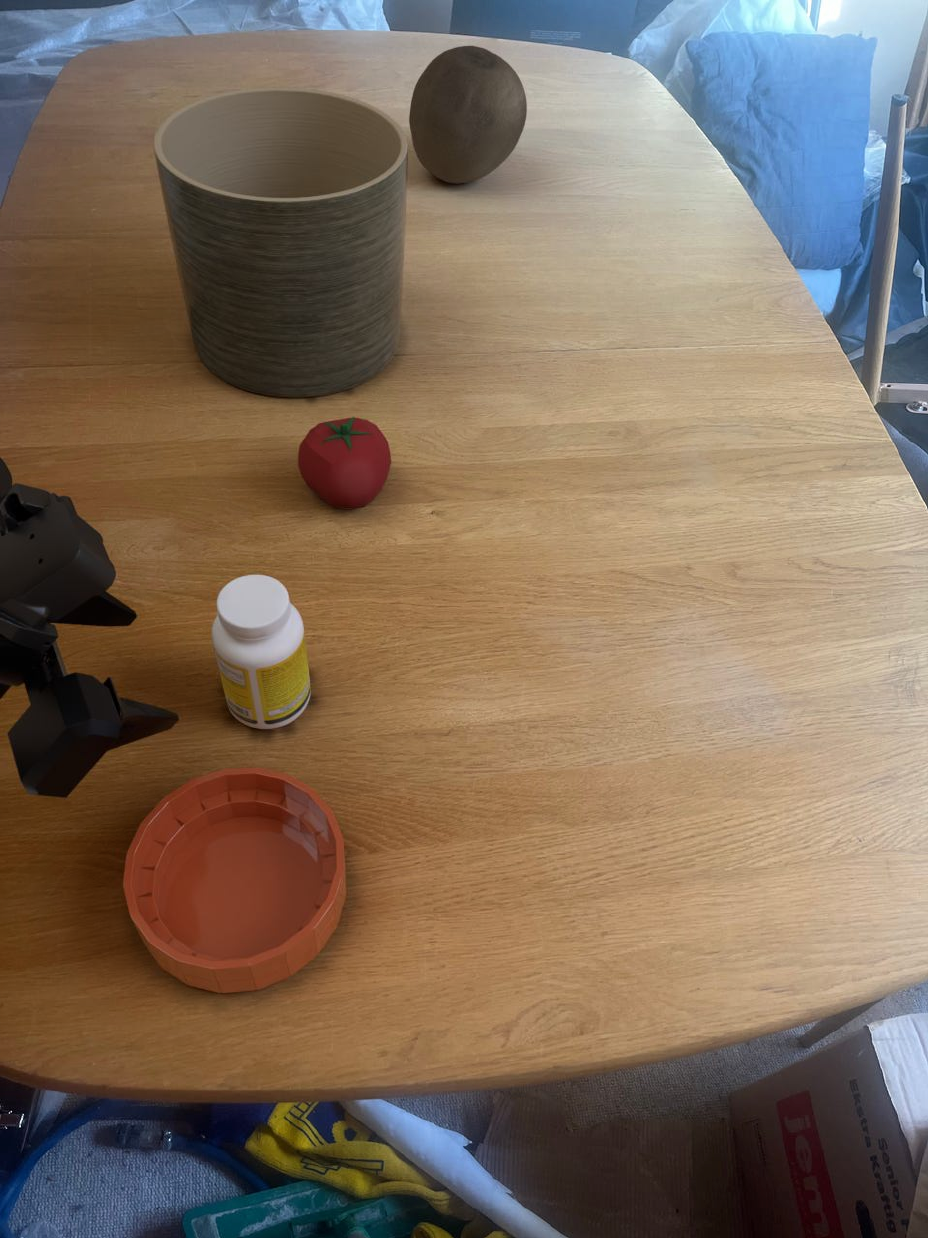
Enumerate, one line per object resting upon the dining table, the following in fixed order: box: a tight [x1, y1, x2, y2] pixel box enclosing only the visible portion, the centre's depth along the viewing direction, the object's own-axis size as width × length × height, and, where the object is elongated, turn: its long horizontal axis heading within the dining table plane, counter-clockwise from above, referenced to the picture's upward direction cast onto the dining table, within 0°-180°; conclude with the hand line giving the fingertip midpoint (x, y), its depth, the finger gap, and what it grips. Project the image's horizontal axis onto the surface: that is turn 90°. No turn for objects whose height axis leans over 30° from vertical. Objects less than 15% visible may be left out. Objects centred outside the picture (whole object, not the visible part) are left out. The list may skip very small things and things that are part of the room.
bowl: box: [122, 766, 347, 994], centre depth 60 cm, size 13×13×4 cm
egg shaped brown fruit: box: [408, 45, 528, 184], centre depth 119 cm, size 14×14×15 cm
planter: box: [152, 86, 409, 398], centre depth 93 cm, size 22×22×20 cm
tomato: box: [297, 416, 392, 510], centre depth 83 cm, size 8×8×7 cm
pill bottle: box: [211, 574, 312, 730], centre depth 67 cm, size 6×6×11 cm
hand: (153, 668), depth 63 cm, fingers open, 9 cm apart
